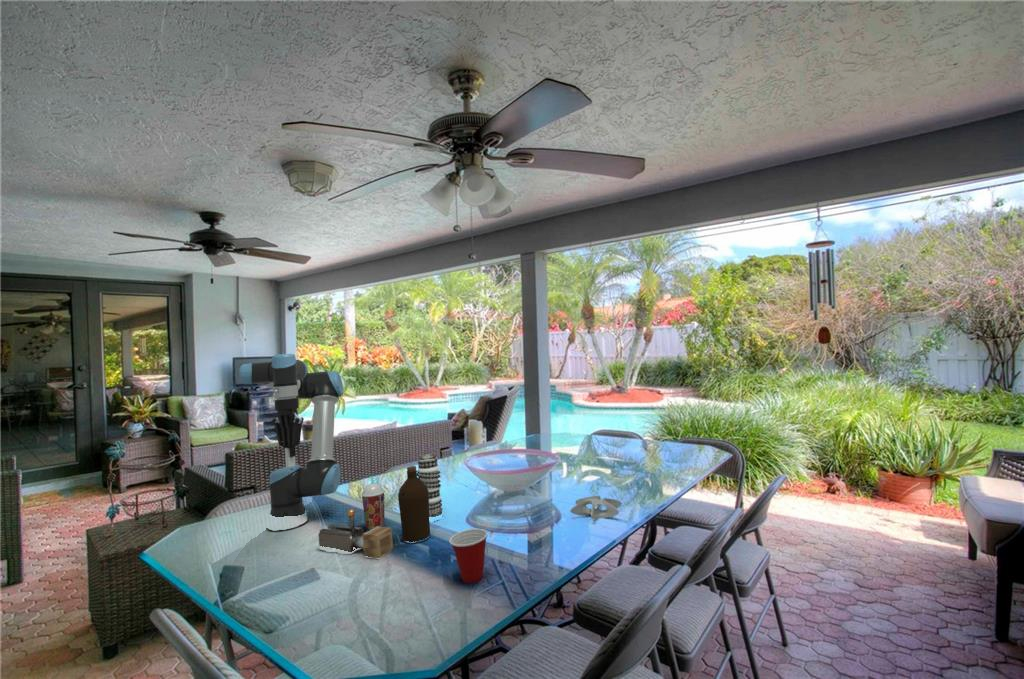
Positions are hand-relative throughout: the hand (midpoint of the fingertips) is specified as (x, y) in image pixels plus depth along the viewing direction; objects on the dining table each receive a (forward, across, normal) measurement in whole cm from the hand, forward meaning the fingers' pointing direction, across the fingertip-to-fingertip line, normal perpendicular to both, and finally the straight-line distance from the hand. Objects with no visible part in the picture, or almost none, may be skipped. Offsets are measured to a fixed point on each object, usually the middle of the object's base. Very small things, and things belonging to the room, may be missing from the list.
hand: (290, 466), depth 160 cm
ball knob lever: (+28, +25, +6) cm, 38 cm away
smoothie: (+30, +14, +24) cm, 41 cm away
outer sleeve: (+29, +15, +6) cm, 34 cm away
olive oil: (+30, +36, +20) cm, 51 cm away
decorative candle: (+30, +30, +38) cm, 57 cm away
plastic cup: (+30, +70, -1) cm, 76 cm away
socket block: (+29, +31, +6) cm, 43 cm away
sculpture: (+30, +92, +54) cm, 111 cm away
